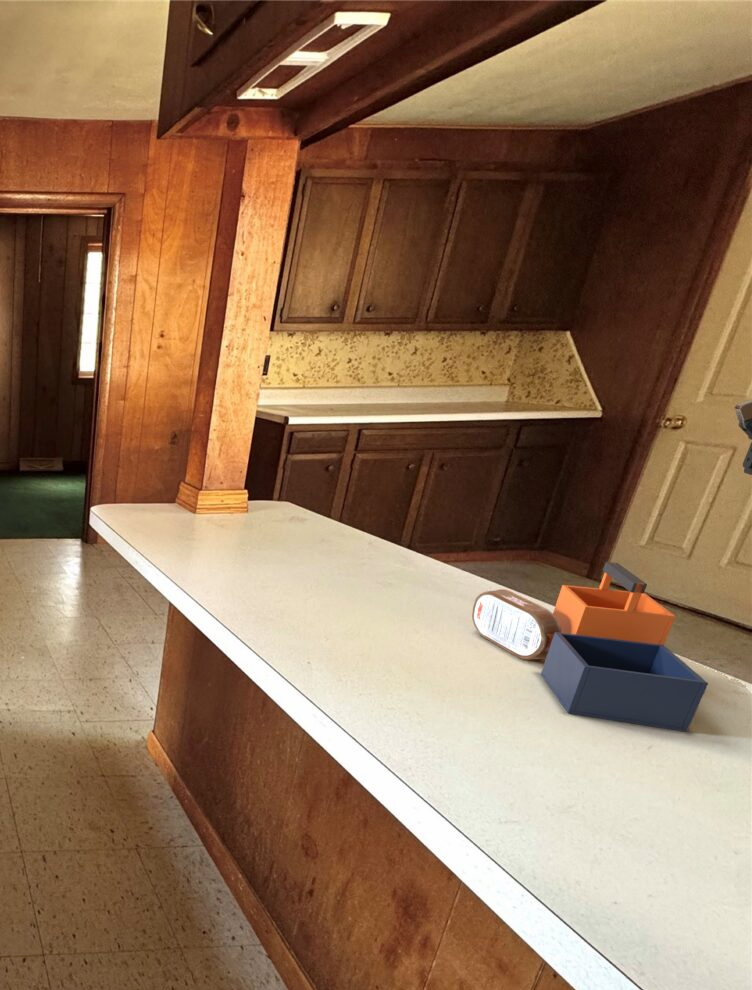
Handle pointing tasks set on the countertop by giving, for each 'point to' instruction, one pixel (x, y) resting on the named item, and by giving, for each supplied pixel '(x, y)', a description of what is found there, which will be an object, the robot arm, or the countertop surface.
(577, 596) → the basket
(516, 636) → the tin
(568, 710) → the bin outer
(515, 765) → the countertop surface
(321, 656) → the countertop surface
